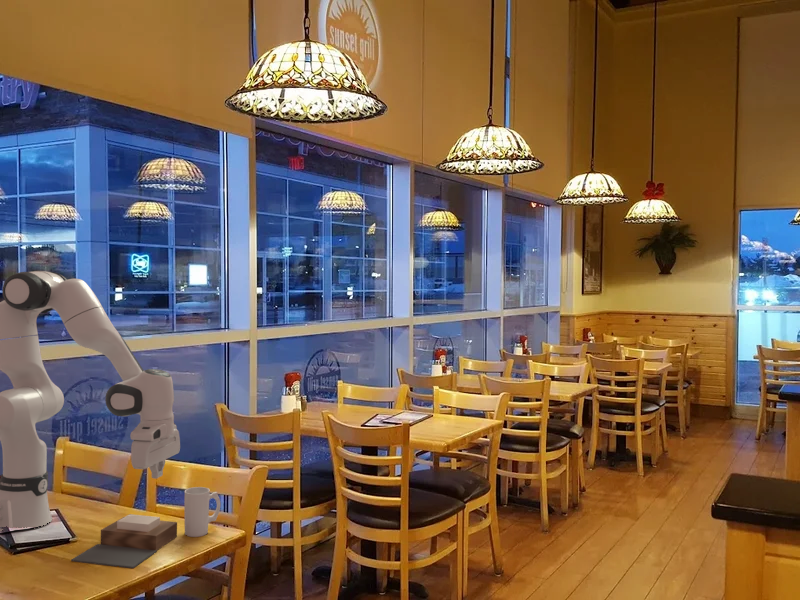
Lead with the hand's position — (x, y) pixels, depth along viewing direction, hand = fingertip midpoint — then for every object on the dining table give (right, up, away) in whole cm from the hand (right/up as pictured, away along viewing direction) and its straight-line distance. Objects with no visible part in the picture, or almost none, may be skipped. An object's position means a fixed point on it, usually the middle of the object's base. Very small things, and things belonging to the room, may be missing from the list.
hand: (157, 477), depth 206 cm
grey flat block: (-2, -11, -8) cm, 14 cm away
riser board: (-2, -15, -7) cm, 17 cm away
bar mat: (-5, -16, -19) cm, 25 cm away
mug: (+12, -16, 0) cm, 20 cm away
